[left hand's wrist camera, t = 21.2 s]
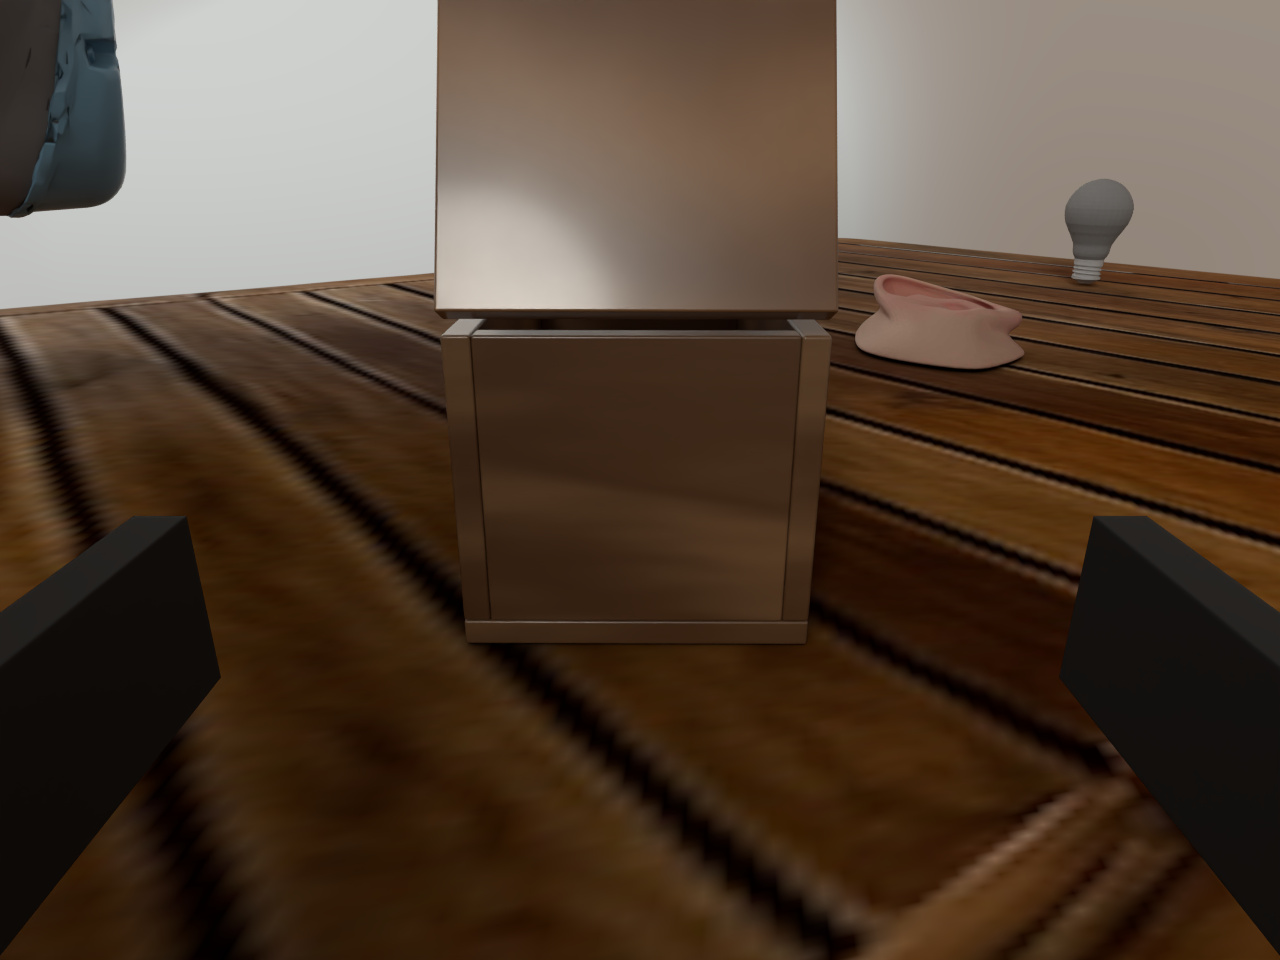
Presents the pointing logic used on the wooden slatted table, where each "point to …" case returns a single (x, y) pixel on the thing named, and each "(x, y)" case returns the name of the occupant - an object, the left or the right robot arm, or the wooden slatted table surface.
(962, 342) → the anatomical model
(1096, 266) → the light bulb
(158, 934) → the wooden slatted table surface
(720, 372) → the chest
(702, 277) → the lid
